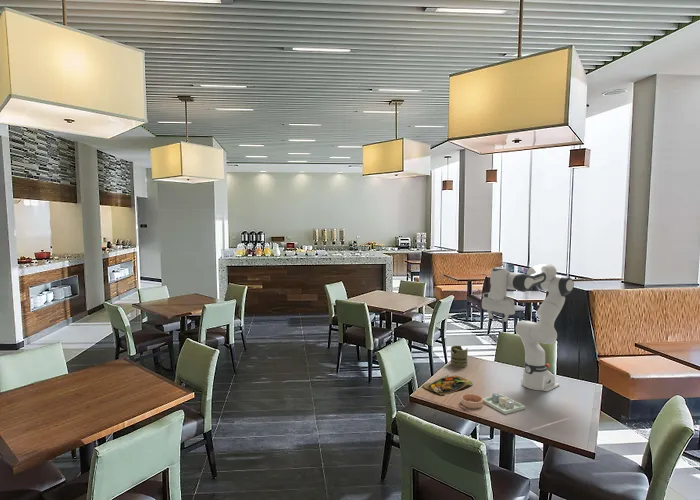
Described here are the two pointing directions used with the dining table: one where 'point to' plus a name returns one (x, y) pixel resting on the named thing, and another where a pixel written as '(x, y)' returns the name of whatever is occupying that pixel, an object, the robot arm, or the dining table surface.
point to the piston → (459, 356)
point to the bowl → (472, 401)
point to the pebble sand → (502, 401)
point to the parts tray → (503, 409)
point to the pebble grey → (509, 404)
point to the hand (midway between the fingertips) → (497, 319)
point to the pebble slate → (495, 398)
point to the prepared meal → (448, 384)
